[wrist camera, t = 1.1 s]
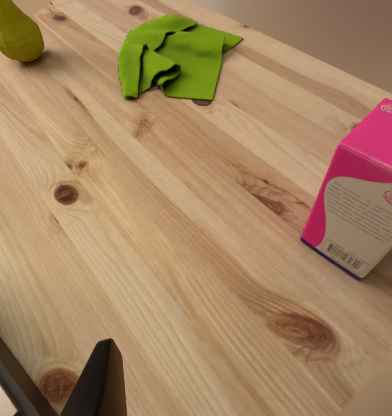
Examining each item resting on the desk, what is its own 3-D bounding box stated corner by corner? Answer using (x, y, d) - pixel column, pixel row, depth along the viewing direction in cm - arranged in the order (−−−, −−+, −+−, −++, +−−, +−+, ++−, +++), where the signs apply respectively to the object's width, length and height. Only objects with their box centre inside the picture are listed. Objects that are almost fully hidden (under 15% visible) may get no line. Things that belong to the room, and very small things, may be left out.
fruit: (12, 75, 46) (-47, -19, 36) (7, 55, 49) (-48, -36, 39) (54, 61, 47) (8, -34, 37) (47, 43, 50) (2, -49, 40)
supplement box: (395, 234, 26) (489, 133, 17) (359, 283, 24) (443, 199, 15) (334, 198, 29) (385, 93, 20) (297, 239, 27) (334, 144, 17)
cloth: (173, 10, 53) (171, -6, 51) (277, 53, 43) (280, 35, 41) (72, 65, 46) (65, 49, 44) (170, 130, 36) (166, 114, 34)
